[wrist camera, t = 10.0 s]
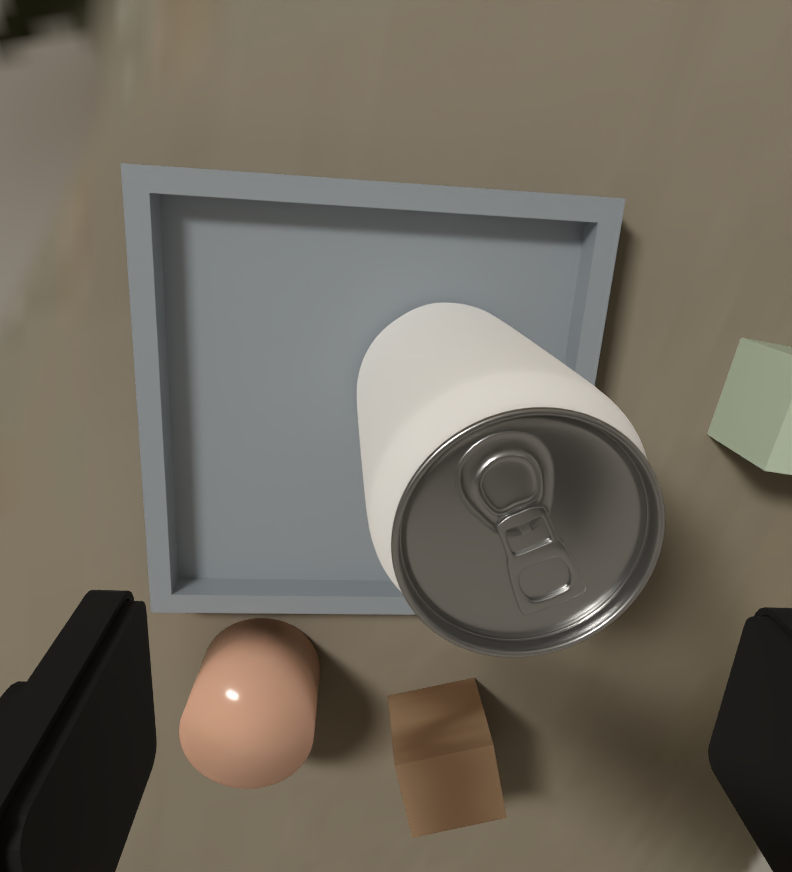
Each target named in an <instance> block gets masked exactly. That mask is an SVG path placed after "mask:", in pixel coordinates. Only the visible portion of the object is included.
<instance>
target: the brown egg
mask: <svg viewBox="0 0 792 872" xmlns="http://www.w3.org/2000/svg"><path fill="white" fill-rule="evenodd" d="M319 677H320V662H319V657H318V654H317V651H316V649H315V647H314V646H313V644H312V643H311V641H310V640H309V639H308V638H307V637H306V636H305V634H303V633H302V632H301V631H300V630H298V629H297V628H295V627H294V626H292V625H290V624H288V623H285V622H282V621H279V620H275V619H268V618H255V619H248V620H244V621H240V622H238V623H235V624H233V625H231V626H229V627H227V628H226V629H224V630H223V631H222V632H220V633H219V634H218V635H217V636H216V637H215V638H214V640H213V641H212V642H211V644H210V645H209V647H208V649H207V652H206V654H205V657H204V659H203V662H202V665H201V667H200V670H199V673H198V675H197V678H196V680H195V683H194V686H193V688H192V691H191V694H190V696H189V699H188V701H187V704H186V707H185V709H184V712H183V714H182V717H181V721H180V728H179V735H180V742H181V746H182V749H183V751H184V753H185V755H186V757H187V758H188V760H189V761H190V763H191V764H192V765H193V766H194V767H195V768H196V769H197V770H198V771H199V772H200V773H202V774H203V775H204V776H206V777H207V778H209V779H211V780H213V781H215V782H217V783H220V784H223V785H226V786H230V787H235V788H245V789H248V788H260V787H265V786H269V785H273V784H275V783H278V782H280V781H282V780H284V779H286V778H288V777H289V776H291V775H292V774H293V773H294V772H296V771H297V770H298V769H299V768H300V767H301V766H302V764H303V763H304V762H305V760H306V759H307V757H308V755H309V753H310V751H311V748H312V745H313V740H314V731H315V720H316V709H317V699H318V688H319Z"/></svg>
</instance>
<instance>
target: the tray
mask: <svg viewBox="0 0 792 872" xmlns="http://www.w3.org/2000/svg"><path fill="white" fill-rule="evenodd" d="M121 175H122V189H123V204H124V219H125V234H126V249H127V263H128V278H129V293H130V308H131V323H132V337H133V352H134V367H135V382H136V397H137V411H138V426H139V441H140V456H141V471H142V485H143V500H144V515H145V530H146V545H147V559H148V574H149V589H150V604H151V613H271V614H401V615H416V614H415V613H414V611H413V610H412V609H411V607H410V606H409V604H408V603H407V601H406V600H405V598H404V596H403V594H402V592H401V591H400V590H399V589H398V588H397V587H396V586H395V585H394V583H393V582H392V581H391V579H390V578H389V576H388V575H387V573H386V572H385V570H384V568H383V566H382V565H381V563H380V560H379V558H378V556H377V553H376V551H375V548H374V545H373V542H372V538H371V534H370V530H369V524H368V518H367V511H366V502H365V492H364V482H363V472H362V461H361V450H360V438H359V426H358V413H357V381H358V375H359V371H360V367H361V364H362V361H363V359H364V356H365V354H366V352H367V350H368V349H369V347H370V345H371V344H372V342H373V341H374V340H375V338H376V337H377V336H378V335H379V334H380V333H381V332H382V330H384V329H385V328H386V327H387V326H388V325H389V324H391V323H392V322H393V321H395V320H396V319H398V318H399V317H401V316H402V315H404V314H406V313H407V312H409V311H411V310H414V309H416V308H418V307H421V306H424V305H427V304H432V303H459V304H465V305H469V306H473V307H476V308H479V309H481V310H484V311H486V312H488V313H490V314H492V315H493V316H495V317H497V318H498V319H500V320H501V321H503V322H504V323H506V324H508V325H509V326H510V327H512V328H513V329H515V330H516V331H518V332H519V333H521V334H522V335H524V336H525V337H526V338H528V339H529V340H531V341H532V342H534V343H535V344H536V345H538V346H539V347H541V348H542V349H544V350H545V351H546V352H548V353H549V354H551V355H552V356H553V357H555V358H556V359H558V360H559V361H560V362H562V363H563V364H565V365H566V366H568V367H569V368H570V369H572V370H573V371H574V372H576V373H577V374H579V375H580V376H581V377H583V378H584V379H585V380H587V381H588V382H590V383H591V384H592V385H594V386H595V380H596V374H597V368H598V362H599V356H600V350H601V344H602V338H603V332H604V326H605V320H606V314H607V308H608V302H609V296H610V290H611V284H612V278H613V272H614V266H615V260H616V254H617V248H618V242H619V236H620V230H621V224H622V218H623V212H624V205H625V198H611V197H596V196H582V195H568V194H553V193H539V192H525V191H510V190H496V189H482V188H467V187H453V186H439V185H425V184H410V183H396V182H382V181H367V180H353V179H339V178H324V177H310V176H296V175H281V174H267V173H253V172H239V171H224V170H210V169H196V168H181V167H167V166H153V165H138V164H124V163H121Z"/></svg>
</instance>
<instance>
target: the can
mask: <svg viewBox="0 0 792 872" xmlns="http://www.w3.org/2000/svg"><path fill="white" fill-rule="evenodd" d="M357 413H358V426H359V438H360V450H361V461H362V472H363V482H364V492H365V502H366V511H367V518H368V524H369V530H370V534H371V538H372V542H373V545H374V548H375V551H376V553H377V556H378V558H379V560H380V563H381V565H382V566H383V568H384V570H385V572H386V573H387V575H388V576H389V578H390V579H391V581H392V582H393V583H394V585H395V586H396V587H397V588H398V589H399V590H400V591H401V592H402V594H403V596H404V598H405V600H406V601H407V603H408V604H409V606H410V607H411V609H412V610H413V611H414V613H415V614H416V615H417V616H418V618H419V619H420V620H421V621H422V622H423V623H424V624H425V625H426V626H428V627H429V628H430V629H431V630H432V631H434V632H435V633H436V634H438V635H439V636H441V637H442V638H444V639H445V640H447V641H449V642H451V643H453V644H455V645H457V646H459V647H461V648H464V649H467V650H470V651H473V652H476V653H480V654H484V655H490V656H497V657H531V656H538V655H543V654H548V653H552V652H556V651H559V650H562V649H565V648H568V647H571V646H573V645H576V644H578V643H580V642H582V641H584V640H586V639H588V638H590V637H592V636H593V635H595V634H597V633H598V632H600V631H601V630H603V629H604V628H606V627H607V626H608V625H610V624H611V623H612V622H613V621H615V620H616V619H617V618H618V617H619V616H620V615H621V614H622V613H623V612H625V610H626V609H627V608H628V607H629V606H630V605H631V604H632V603H633V602H634V600H635V599H636V598H637V597H638V595H639V594H640V593H641V591H642V590H643V588H644V587H645V585H646V584H647V582H648V580H649V578H650V577H651V575H652V572H653V570H654V568H655V566H656V563H657V561H658V558H659V555H660V551H661V548H662V543H663V538H664V530H665V509H664V501H663V496H662V492H661V488H660V485H659V482H658V479H657V477H656V475H655V473H654V470H653V469H652V467H651V465H650V463H649V462H648V460H647V457H646V453H645V450H644V448H643V445H642V443H641V440H640V438H639V436H638V434H637V432H636V431H635V429H634V427H633V426H632V424H631V423H630V421H629V420H628V419H627V417H626V416H625V415H624V414H623V412H622V411H621V410H620V409H619V408H618V407H617V406H616V405H615V404H614V403H613V401H611V400H610V399H609V398H608V397H607V396H606V395H605V394H603V393H602V392H601V391H600V390H598V389H597V388H596V387H595V386H594V385H592V384H591V383H590V382H588V381H587V380H585V379H584V378H583V377H581V376H580V375H579V374H577V373H576V372H574V371H573V370H572V369H570V368H569V367H568V366H566V365H565V364H563V363H562V362H560V361H559V360H558V359H556V358H555V357H553V356H552V355H551V354H549V353H548V352H546V351H545V350H544V349H542V348H541V347H539V346H538V345H536V344H535V343H534V342H532V341H531V340H529V339H528V338H526V337H525V336H524V335H522V334H521V333H519V332H518V331H516V330H515V329H513V328H512V327H510V326H509V325H508V324H506V323H504V322H503V321H501V320H500V319H498V318H497V317H495V316H493V315H492V314H490V313H488V312H486V311H484V310H481V309H479V308H476V307H473V306H469V305H465V304H459V303H432V304H427V305H424V306H421V307H418V308H416V309H414V310H411V311H409V312H407V313H406V314H404V315H402V316H401V317H399V318H398V319H396V320H395V321H393V322H392V323H391V324H389V325H388V326H387V327H386V328H385V329H384V330H382V332H381V333H380V334H379V335H378V336H377V337H376V338H375V340H374V341H373V342H372V344H371V345H370V347H369V349H368V350H367V352H366V354H365V356H364V359H363V361H362V364H361V367H360V371H359V375H358V381H357Z"/></svg>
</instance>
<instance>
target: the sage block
mask: <svg viewBox="0 0 792 872" xmlns="http://www.w3.org/2000/svg"><path fill="white" fill-rule="evenodd" d="M707 435H709V436H710V437H712V438H714V439H715V440H717V441H718V442H720V443H721V444H723V445H725V446H726V447H728V448H729V449H731V450H732V451H734V452H736V453H737V454H739V455H740V456H742V457H743V458H745V459H747V460H748V461H750V462H751V463H753V464H754V465H756V466H758V467H759V468H761V469H762V470H764V471H769V472H775V473H782V474H789V475H792V347H790V346H784V345H779V344H773V343H768V342H762V341H756V340H751V339H745V338H741V339H740V342H739V345H738V348H737V351H736V354H735V356H734V359H733V362H732V365H731V368H730V371H729V374H728V376H727V379H726V382H725V385H724V388H723V391H722V394H721V396H720V399H719V402H718V405H717V408H716V411H715V414H714V416H713V419H712V422H711V425H710V428H709V431H708V434H707Z"/></svg>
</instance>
